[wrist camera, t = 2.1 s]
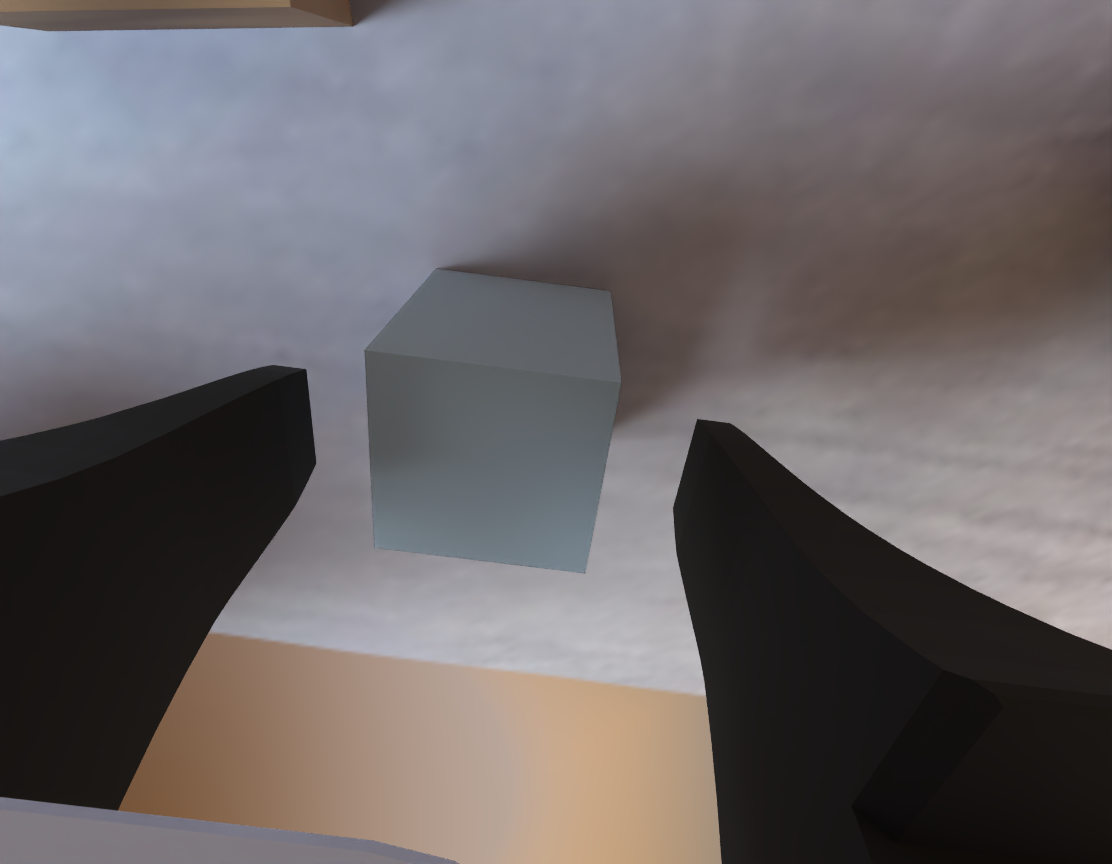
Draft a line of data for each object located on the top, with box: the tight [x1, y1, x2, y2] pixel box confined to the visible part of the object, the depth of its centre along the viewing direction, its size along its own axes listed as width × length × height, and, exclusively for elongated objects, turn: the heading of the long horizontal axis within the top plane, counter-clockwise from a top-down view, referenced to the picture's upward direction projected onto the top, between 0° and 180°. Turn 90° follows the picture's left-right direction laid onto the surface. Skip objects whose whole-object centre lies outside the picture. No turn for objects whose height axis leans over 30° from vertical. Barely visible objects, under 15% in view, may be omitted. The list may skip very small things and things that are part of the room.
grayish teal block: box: [365, 269, 621, 573], centre depth 12 cm, size 4×4×5 cm
